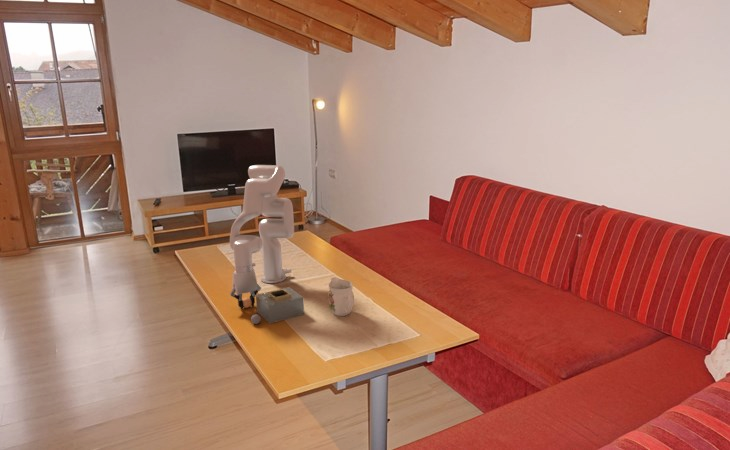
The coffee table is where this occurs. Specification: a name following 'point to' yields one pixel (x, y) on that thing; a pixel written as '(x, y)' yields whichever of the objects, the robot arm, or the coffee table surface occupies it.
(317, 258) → the coffee table surface
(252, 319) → the bead
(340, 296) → the pitcher
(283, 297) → the grey box with opening
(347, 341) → the coffee table surface
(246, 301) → the bead
